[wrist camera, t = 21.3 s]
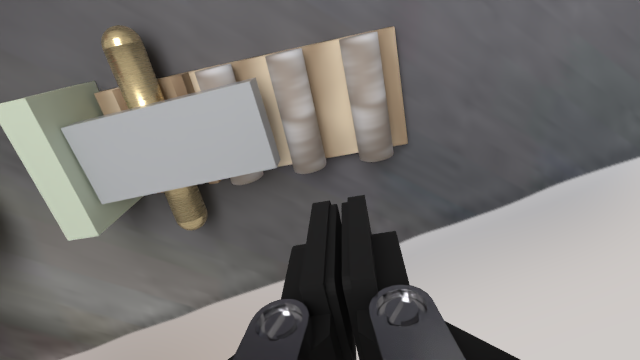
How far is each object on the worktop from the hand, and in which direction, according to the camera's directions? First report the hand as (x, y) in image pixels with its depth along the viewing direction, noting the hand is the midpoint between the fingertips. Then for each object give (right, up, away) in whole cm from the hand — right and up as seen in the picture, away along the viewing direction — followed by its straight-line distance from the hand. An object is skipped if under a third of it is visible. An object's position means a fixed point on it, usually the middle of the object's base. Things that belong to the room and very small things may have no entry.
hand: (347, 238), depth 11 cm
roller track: (-7, +8, +22) cm, 25 cm away
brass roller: (-14, +6, +22) cm, 27 cm away
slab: (-13, +5, +19) cm, 23 cm away
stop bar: (-22, +6, +24) cm, 33 cm away
